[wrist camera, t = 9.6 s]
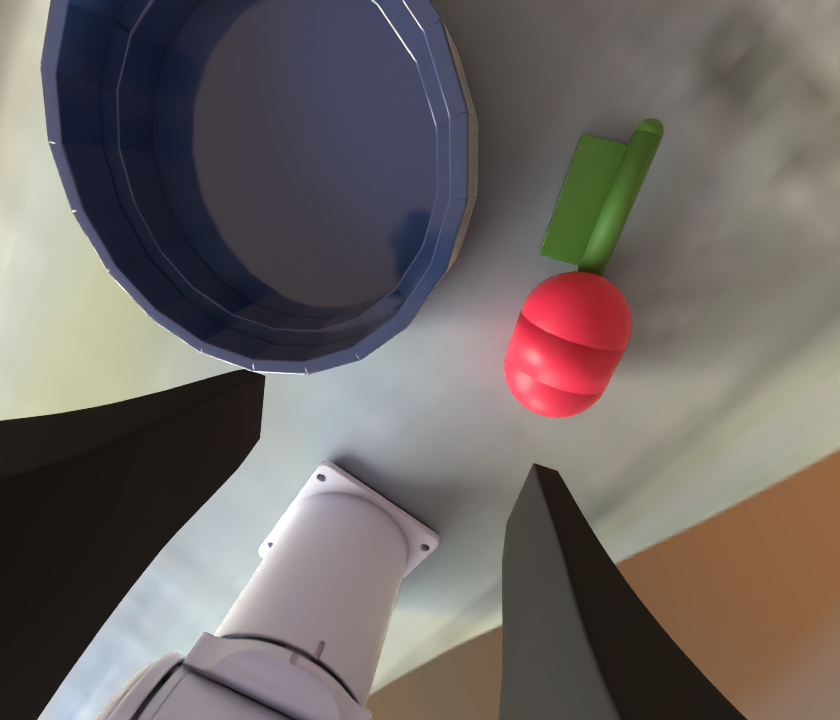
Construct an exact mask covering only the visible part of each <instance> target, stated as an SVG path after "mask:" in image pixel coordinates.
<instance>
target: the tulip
mask: <svg viewBox="0 0 840 720" xmlns="http://www.w3.org/2000/svg"><path fill="white" fill-rule="evenodd" d="M663 133H664V127H663V124H662V123H661V122H660V121H659V120H658V119H655V118H648V119H645V120H643V121H641V122H640V123H639V124H638V125H637V126H636V128H635V130H634V132H633V134H632V137H631V139H630V142H629V144H628V145H627V144H623V143H619V142H615V141H611V140H607V139H603V138H599V137H595V136H591V135H587V134H582V135H581V138H580V141H579V144H578V146H577V149H576V152H575V155H574V158H573V160H572V163H571V166H570V169H569V172H568V174H567V177H566V180H565V183H564V186H563V188H562V191H561V194H560V197H559V199H558V202H557V205H556V208H555V211H554V213H553V216H552V219H551V222H550V225H549V227H548V230H547V233H546V236H545V239H544V241H543V244H542V247H541V250H540V253H539V254H540V255H544V256H547V257H551V258H554V259H558V260H561V261H565V262H568V263H572V264H576V265H579V268H578V272H576V271H573V272H567V273H561V274H558V275H555V276H553V277H551V278H549V279H547V280H546V281H544V282H542V283H541V284H540V285H538V286H537V287H536V288H535V289H534V290H533V291H532V292H531V294H530V295H529V296H528V298H527V299H526V301H525V303H524V305H523V307H522V309H521V312H520V315H519V318H518V320H517V323H516V326H515V329H514V331H513V334H512V337H511V340H510V343H509V345H508V348H507V352H506V356H505V360H504V372H505V378H506V382H507V384H508V387H509V389H510V391H511V393H512V394H513V395H514V397H515V398H516V399H517V400H518V402H519V403H521V404H522V405H523V406H524V407H526V408H527V409H529V410H531V411H532V412H534V413H537V414H539V415H543V416H547V417H552V418H559V417H569V416H572V415H575V414H578V413H581V412H583V411H584V410H586V409H588V408H589V407H591V406H592V405H593V404H594V403H595V402H596V401H597V400H598V399H599V398H600V397H601V395H602V394H603V392H604V391H605V389H606V387H607V385H608V383H609V381H610V379H611V377H612V375H613V373H614V371H615V369H616V367H617V365H618V362H619V360H620V358H621V356H622V354H623V352H624V350H625V348H626V346H627V343H628V341H629V338H630V334H631V327H632V320H631V312H630V309H629V306H628V303H627V301H626V300H625V298H624V296H623V295H622V293H621V292H620V291H619V290H618V289H617V288H616V287H615V285H613V284H612V283H611V282H609V281H608V280H606V279H605V278H603V277H602V275H603V273H604V271H605V268H606V266H607V264H608V261H609V259H610V257H611V254H612V252H613V250H614V248H615V245H616V243H617V241H618V238H619V236H620V234H621V231H622V229H623V227H624V224H625V222H626V220H627V217H628V215H629V213H630V211H631V208H632V206H633V204H634V201H635V199H636V197H637V194H638V192H639V190H640V187H641V185H642V183H643V180H644V178H645V176H646V174H647V171H648V169H649V167H650V164H651V162H652V160H653V157H654V155H655V153H656V150H657V148H658V146H659V143H660V141H661V139H662V136H663Z"/></svg>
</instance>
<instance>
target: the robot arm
mask: <svg viewBox="0 0 840 720" xmlns="http://www.w3.org/2000/svg"><path fill="white" fill-rule="evenodd" d="M264 386H265V376H264V375H261V374H258V373H255V372H252V371H249V370H246V369H242V370H237V371H232V372H229V373H225V374H221V375H218V376H214V377H211V378H207V379H204V380H200V381H197V382H193V383H190V384H186V385H183V386H179V387H176V388H172V389H169V390H165V391H161V392H157V393H153V394H149V395H145V396H141V397H137V398H133V399H129V400H125V401H121V402H117V403H112V404H108V405H103V406H98V407H93V408H87V409H82V410H76V411H70V412H64V413H58V414H52V415H44V416H36V417H28V418H19V419H11V420H3V421H0V720H37V719H38V718H39V716H40V715H41V713H42V712H43V710H44V709H45V707H46V706H47V704H48V703H49V701H50V700H51V698H52V697H53V695H54V694H55V692H56V691H57V689H58V688H59V686H60V685H61V683H62V682H63V680H64V679H65V678H66V676H67V675H68V673H69V672H70V671H71V669H72V668H73V666H74V665H75V664H76V662H77V661H78V659H79V658H80V657H81V655H82V654H83V652H84V651H85V650H86V648H87V647H88V645H89V644H90V643H91V641H92V640H93V638H94V637H95V636H96V634H97V633H98V631H99V630H100V629H101V627H102V626H103V625H104V623H105V622H106V621H107V619H108V618H109V617H110V615H111V614H112V613H113V611H114V610H115V609H116V607H117V606H118V605H119V603H120V602H121V601H122V599H123V598H124V597H125V595H126V594H127V593H128V591H129V590H130V589H131V587H132V586H133V585H134V584H135V582H136V581H137V580H138V579H139V577H140V576H141V575H142V573H143V572H144V571H145V570H146V568H147V567H148V566H149V565H150V563H151V562H152V561H153V560H154V558H155V557H156V556H157V555H158V553H159V552H160V551H161V550H162V548H163V547H164V546H165V545H166V544H167V543H168V542H169V541H170V539H171V538H172V537H173V536H174V535H175V534H176V533H177V532H178V531H179V530H180V529H181V528H182V527H183V526H184V524H185V523H186V522H187V521H188V520H189V519H190V518H191V517H192V516H193V515H194V514H195V513H196V512H197V511H198V510H199V509H200V508H201V507H202V506H203V505H204V504H205V503H206V502H207V501H208V500H209V499H210V497H211V496H212V495H213V494H214V493H215V492H216V491H217V490H218V489H219V488H220V487H221V486H222V485H223V484H224V483H225V482H226V481H227V480H228V479H229V477H230V476H231V475H232V474H233V473H234V472H235V471H236V470H237V469H238V468H239V466H240V465H241V464H242V462H243V461H244V460H245V458H246V457H247V456H248V454H249V453H250V452H251V450H252V449H253V447H254V446H255V444H256V443H257V442H258V440H259V439H260V431H261V420H262V409H263V398H264ZM321 474H323V475H325V476H326V477H323V476H322V475H321ZM439 542H440V537H439V535H438V534H437V533H435V532H434V531H432V530H431V529H429V528H428V527H426V526H425V525H423V524H422V523H421V522H419V521H418V520H416V519H415V518H413V517H412V516H410V515H409V514H407V513H406V512H404V511H403V510H401V509H400V508H398V507H397V506H395V505H394V504H392V503H391V502H390V501H388V500H387V499H385V498H384V497H382V496H381V495H379V494H378V493H376V492H375V491H373V490H372V489H370V488H369V487H367V486H366V485H364V484H363V483H362V482H360V481H359V480H357V479H356V478H354V477H353V476H351V475H350V474H348V473H347V472H345V471H344V470H342V469H341V468H339V467H338V466H336V465H335V464H333V463H332V462H330V461H323V462H322V463H321V464H320V465H319V466H318V468H317V469H316V471H315V472H314V473H313V475H312V476H311V477H310V479H309V480H308V482H307V483H306V484H305V486H304V487H303V489H302V490H301V491H300V493H299V494H298V495H297V497H296V498H295V500H294V501H293V502H292V504H291V505H290V507H289V508H288V509H287V511H286V512H285V514H284V515H283V516H282V518H281V519H280V520H279V522H278V523H277V525H276V526H275V527H274V529H273V530H272V532H271V533H270V534H269V536H268V537H267V538H266V540H265V541H264V543H263V544H262V545H261V547H260V548H259V554H260V556H262V557H263V558H264V559H263V561H262V562H261V564H260V565H259V567H258V568H257V570H256V571H255V573H254V574H253V576H252V577H251V579H250V580H249V582H248V583H247V585H246V587H245V588H244V590H243V591H242V593H241V594H240V596H239V597H238V599H237V600H236V602H235V603H234V605H233V606H232V608H231V609H230V611H229V612H228V614H227V615H226V617H225V618H224V620H223V621H222V623H221V624H220V626H219V627H218V629H217V631H216V632H215V634H214V635H212V634H209V633H207V632H205V633H203V634H202V635H201V637H200V638H199V640H198V641H197V643H196V644H195V646H194V647H193V648H192V650H191V651H190V653H189V654H188V656H187V657H185V656H183V655H181V654H179V653H175V652H171V653H169V654H166V655H164V656H163V657H162V658H160V659H158V660H156V661H154V662H152V663H149V664H147V665H146V666H144V667H143V668H141V669H140V670H139V671H138V672H137V673H136V674H135V675H133V676H132V677H131V678H130V679H129V680H128V682H127V683H126V684H125V685H124V686H123V687H122V688H121V689H120V690H119V691H118V693H117V694H116V695H115V696H114V697H113V699H112V700H111V701H110V702H109V703H108V705H107V706H106V707H105V708H104V710H103V711H102V712H101V713H100V715H99V716H98V717H97V719H96V720H372V716H373V714H372V712H371V711H369V710H367V709H365V706H366V703H367V699H368V696H369V692H370V689H371V686H372V682H373V679H374V675H375V672H376V668H377V665H378V661H379V658H380V654H381V651H382V647H383V644H384V640H385V637H386V633H387V630H388V626H389V623H390V619H391V616H392V612H393V609H394V605H395V602H396V598H397V595H398V591H399V588H400V584H401V581H402V580H403V579H404V578H405V577H406V576H407V575H408V574H409V573H410V572H412V571H413V570H414V569H415V568H416V567H417V566H418V565H419V564H420V563H421V562H422V561H423V560H424V559H425V558H426V557H427V556H428V555H430V554H431V553H432V552H433V551H434V550H435V549H436V548H437V547H438V545H439ZM424 544H427V545H424ZM502 616H503V663H502V684H501V695H500V707H499V719H498V720H747V719H746V718H745V717H744V716H743V715H742V714H741V713H740V712H739V711H738V710H737V709H736V708H735V707H734V706H733V705H732V704H731V703H730V702H729V701H728V700H727V699H726V698H725V697H724V696H723V695H722V694H721V693H720V692H719V690H717V689H716V687H715V686H714V685H713V684H712V683H711V682H710V681H709V680H708V679H707V678H706V677H705V676H704V675H703V673H702V672H701V671H700V670H699V669H698V668H697V667H696V666H695V665H694V663H693V662H692V661H691V660H690V659H689V658H688V657H687V656H686V655H685V654H684V652H683V651H682V650H681V649H680V648H679V647H678V646H677V644H676V643H675V642H674V641H673V640H672V639H671V637H670V636H669V635H668V634H667V633H666V632H665V630H664V629H663V628H662V627H661V626H660V624H659V623H658V622H657V621H656V619H655V618H654V617H653V616H652V614H651V613H650V612H649V611H648V609H647V608H646V607H645V606H644V604H643V603H642V602H641V600H640V599H639V598H638V597H637V595H636V594H635V593H634V591H633V590H632V589H631V587H630V586H629V584H628V583H627V582H626V581H625V579H624V577H623V576H622V575H621V573H620V572H619V570H618V569H617V567H616V566H615V564H614V563H613V562H612V560H611V559H610V557H609V556H608V554H607V553H606V551H605V550H604V548H603V546H602V545H601V543H600V542H599V540H598V539H597V537H596V535H595V534H594V532H593V531H592V529H591V527H590V526H589V524H588V522H587V521H586V519H585V517H584V516H583V514H582V512H581V511H580V509H579V507H578V505H577V504H576V502H575V500H574V498H573V497H572V495H571V493H570V491H569V490H568V488H567V486H566V484H565V483H564V481H563V479H562V477H561V476H560V474H559V472H558V471H556V470H553V469H550V468H547V467H544V466H541V465H538V464H535V463H533V465H532V467H531V470H530V472H529V474H528V476H527V478H526V481H525V483H524V485H523V487H522V490H521V492H520V494H519V496H518V499H517V501H516V503H515V505H514V507H513V510H512V512H511V514H510V516H509V519H508V521H507V525H506V533H505V541H504V550H503V559H502Z"/></svg>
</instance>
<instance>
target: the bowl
mask: <svg viewBox="0 0 840 720" xmlns="http://www.w3.org/2000/svg"><path fill="white" fill-rule="evenodd" d="M41 76H42V86H43V96H44V105H45V115H46V125H47V135H48V142H50V143H49V145H50V148H51V151H52V154H53V157H54V160H55V163H56V166H57V169H58V172H59V175H60V178H61V181H62V184H63V187H64V190H65V193H66V196H67V199H68V202H69V205H70V208H71V210H72V211H73V215H74V216H75V218H76V220H77V221H78V223H79V225H80V226H81V228H82V230H83V232H84V233H85V235H86V237H87V238H88V240H89V242H90V243H91V245H92V247H93V248H94V250H95V252H96V253H97V255H98V257H99V259H100V260H101V262H102V264H103V265H104V267H105V269H106V270H107V271H108V273H109V274H110V275H111V276H112V277H113V278H114V280H115V281H116V282H117V283H118V284H119V285H120V286H121V287H122V288H123V289H124V290H125V291H126V293H127V294H128V295H129V296H130V297H131V298H132V299H133V300H134V301H135V302H136V303H137V304H138V305H139V307H140V308H141V309H142V310H143V311H144V312H145V313H146V314H147V315H148V316H149V317H150V318H151V319H152V320H153V321H154V322H156V323H157V324H159V325H160V326H162V327H163V328H165V329H166V330H168V331H169V332H170V333H172V334H173V335H175V336H176V337H178V338H179V339H181V340H182V341H184V342H185V343H187V344H188V345H190V346H191V347H192V348H194V349H195V350H197V351H198V352H201V353H203V354H205V355H208V356H211V357H214V358H217V359H219V360H222V361H225V362H228V363H230V364H233V365H236V366H239V367H242V368H244V369H247V370H250V371H254V372H267V373H285V374H304V375H307V374H312V373H316V372H320V371H323V370H327V369H330V368H334V367H338V366H341V365H345V364H349V363H352V362H356V361H359V360H362V359H363V358H365V357H366V356H367V355H369V354H370V353H372V352H373V351H374V350H376V349H377V348H379V347H380V346H382V345H383V344H384V343H386V342H387V341H389V340H390V339H391V338H393V337H394V336H396V335H397V334H399V333H400V332H401V331H403V330H404V329H406V328H407V327H408V325H410V323H411V322H412V321H413V319H414V318H415V316H416V315H417V314H418V312H419V311H420V309H421V308H422V307H423V305H424V304H425V302H426V301H427V300H428V298H429V297H430V295H431V294H432V292H433V291H434V290H435V288H436V287H437V285H438V284H439V283H440V281H441V280H442V278H443V277H444V276H445V274H446V273H447V271H448V270H449V268H450V267H451V266H452V264H453V263H454V261H455V260H456V259H457V257H458V255H459V253H460V249H461V246H462V243H463V240H464V237H465V233H466V230H467V227H468V224H469V221H470V218H471V214H472V211H473V208H474V205H475V202H476V198H477V195H476V194H477V193H478V124H477V122H478V120H477V116H476V113H475V109H474V106H473V102H472V99H471V95H470V92H469V88H468V85H467V81H466V77H465V74H464V70H463V67H462V63H461V60H460V56H459V53H458V51H457V49H456V46H455V44H454V42H453V40H452V38H451V36H450V33H449V31H448V29H447V27H446V25H445V23H444V21H443V19H442V17H441V16H440V14H439V12H438V11H437V9H436V8H435V6H434V5H433V3H432V2H431V0H51V2H50V8H49V14H48V21H47V27H46V33H45V40H44V46H43V52H42V59H41Z"/></svg>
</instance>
